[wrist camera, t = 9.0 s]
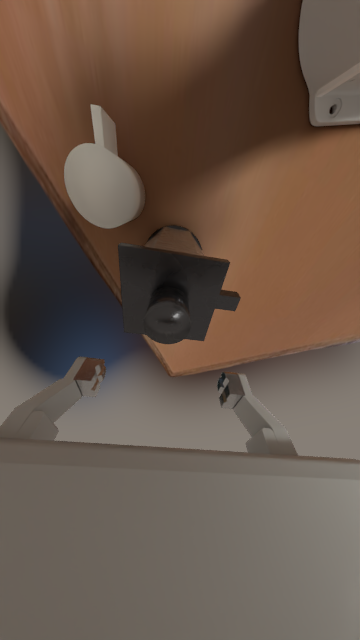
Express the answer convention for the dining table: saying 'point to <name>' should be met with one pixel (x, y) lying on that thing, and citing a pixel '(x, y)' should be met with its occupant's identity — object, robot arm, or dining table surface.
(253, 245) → the dining table surface
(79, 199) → the diner mug
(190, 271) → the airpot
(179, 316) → the pump plunger
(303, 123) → the dining table surface
